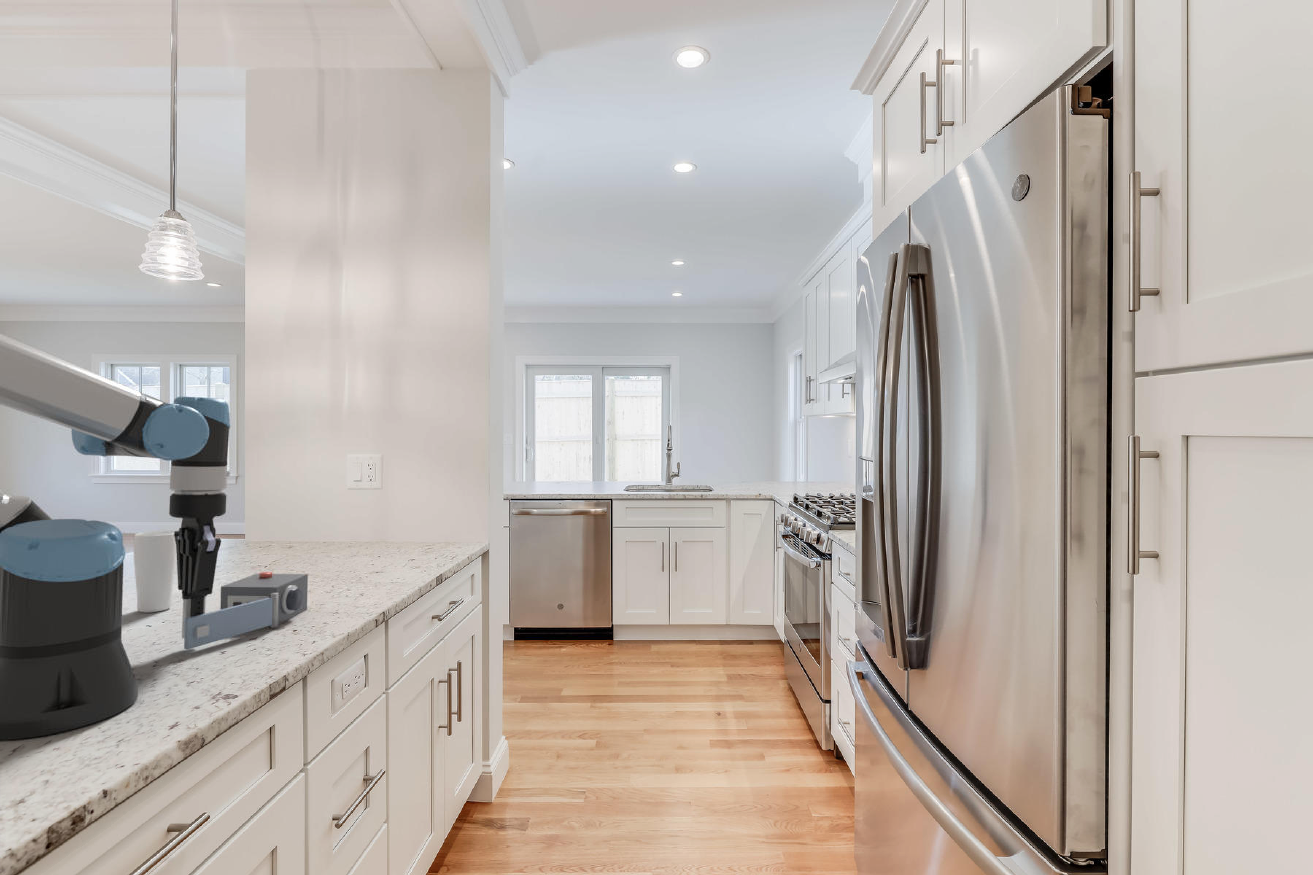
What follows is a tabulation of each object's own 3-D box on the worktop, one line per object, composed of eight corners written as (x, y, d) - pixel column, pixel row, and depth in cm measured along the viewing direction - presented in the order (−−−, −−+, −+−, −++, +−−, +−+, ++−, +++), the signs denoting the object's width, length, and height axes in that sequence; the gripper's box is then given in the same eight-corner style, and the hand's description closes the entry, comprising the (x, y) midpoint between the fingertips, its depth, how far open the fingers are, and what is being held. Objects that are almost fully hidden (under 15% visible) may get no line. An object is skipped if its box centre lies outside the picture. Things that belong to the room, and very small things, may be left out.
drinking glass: (185, 605, 128) (186, 531, 128) (155, 615, 121) (156, 536, 121) (154, 604, 128) (155, 529, 128) (122, 613, 122) (124, 535, 122)
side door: (281, 626, 115) (282, 593, 115) (190, 653, 100) (191, 615, 100) (274, 625, 116) (275, 592, 116) (183, 652, 101) (184, 614, 101)
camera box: (283, 626, 116) (284, 583, 116) (218, 625, 115) (219, 582, 115) (315, 609, 127) (316, 570, 127) (255, 608, 127) (256, 569, 127)
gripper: (241, 494, 103) (235, 639, 103) (210, 488, 111) (204, 623, 111) (186, 496, 97) (179, 650, 97) (157, 489, 105) (151, 633, 105)
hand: (193, 636), depth 104 cm, fingers closed
